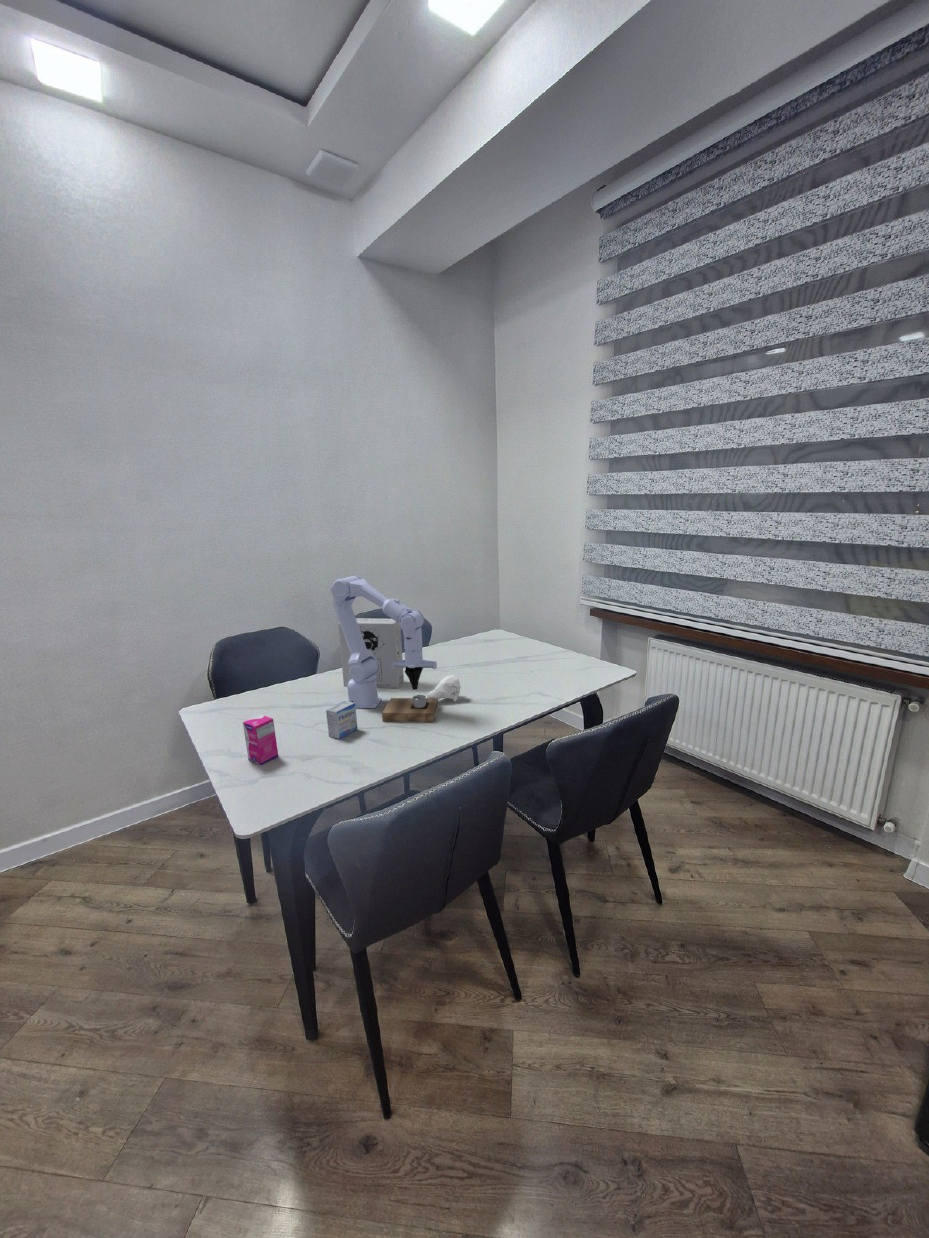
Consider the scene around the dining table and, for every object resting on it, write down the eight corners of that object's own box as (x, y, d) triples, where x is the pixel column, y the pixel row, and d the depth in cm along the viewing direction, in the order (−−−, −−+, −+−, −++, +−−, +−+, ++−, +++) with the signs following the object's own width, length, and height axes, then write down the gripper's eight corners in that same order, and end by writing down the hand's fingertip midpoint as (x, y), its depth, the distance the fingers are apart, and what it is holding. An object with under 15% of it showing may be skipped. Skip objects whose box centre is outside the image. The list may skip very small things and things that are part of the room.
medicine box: (338, 739, 144) (336, 712, 142) (328, 736, 146) (325, 709, 144) (358, 729, 150) (355, 702, 148) (347, 726, 153) (345, 700, 151)
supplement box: (247, 760, 134) (241, 721, 131) (266, 751, 139) (261, 713, 136) (260, 765, 131) (254, 726, 128) (279, 756, 135) (274, 717, 133)
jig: (382, 721, 155) (382, 712, 154) (391, 706, 167) (391, 698, 166) (432, 722, 153) (432, 713, 153) (438, 706, 165) (438, 698, 164)
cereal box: (404, 681, 190) (400, 618, 184) (398, 688, 183) (394, 623, 177) (351, 679, 194) (345, 617, 188) (343, 686, 187) (337, 622, 181)
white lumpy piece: (461, 676, 168) (429, 686, 162) (464, 699, 170) (433, 710, 165) (452, 671, 173) (421, 681, 168) (455, 693, 175) (425, 703, 170)
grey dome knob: (411, 717, 158) (410, 699, 157) (416, 711, 162) (415, 694, 160) (424, 717, 157) (423, 700, 156) (428, 712, 161) (427, 695, 159)
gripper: (387, 652, 154) (390, 692, 157) (433, 652, 153) (435, 693, 156) (393, 645, 161) (395, 684, 164) (437, 646, 160) (438, 685, 163)
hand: (415, 688), depth 161 cm, fingers closed
